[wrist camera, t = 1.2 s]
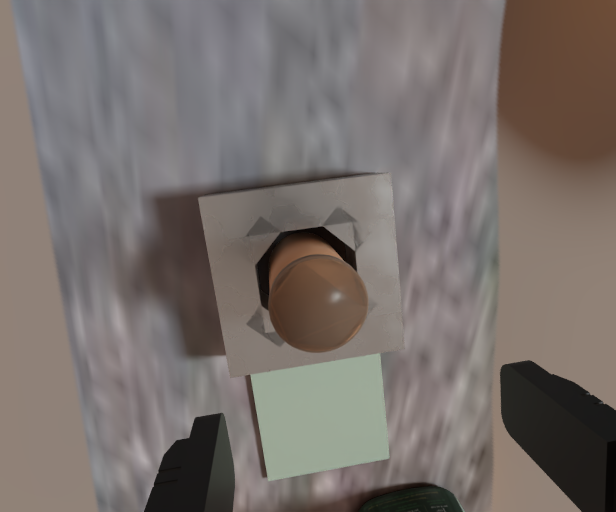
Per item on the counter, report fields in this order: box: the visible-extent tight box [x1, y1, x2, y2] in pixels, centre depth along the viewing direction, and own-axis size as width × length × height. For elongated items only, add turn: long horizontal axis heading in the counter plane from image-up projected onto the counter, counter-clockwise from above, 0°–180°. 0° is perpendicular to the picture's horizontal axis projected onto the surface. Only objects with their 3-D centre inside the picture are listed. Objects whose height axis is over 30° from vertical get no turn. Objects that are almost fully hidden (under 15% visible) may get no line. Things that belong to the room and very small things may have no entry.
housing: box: [198, 173, 405, 378], centre depth 28 cm, size 12×12×4 cm
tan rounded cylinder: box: [268, 232, 369, 353], centre depth 25 cm, size 5×5×9 cm
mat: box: [250, 353, 390, 481], centre depth 32 cm, size 10×10×1 cm
